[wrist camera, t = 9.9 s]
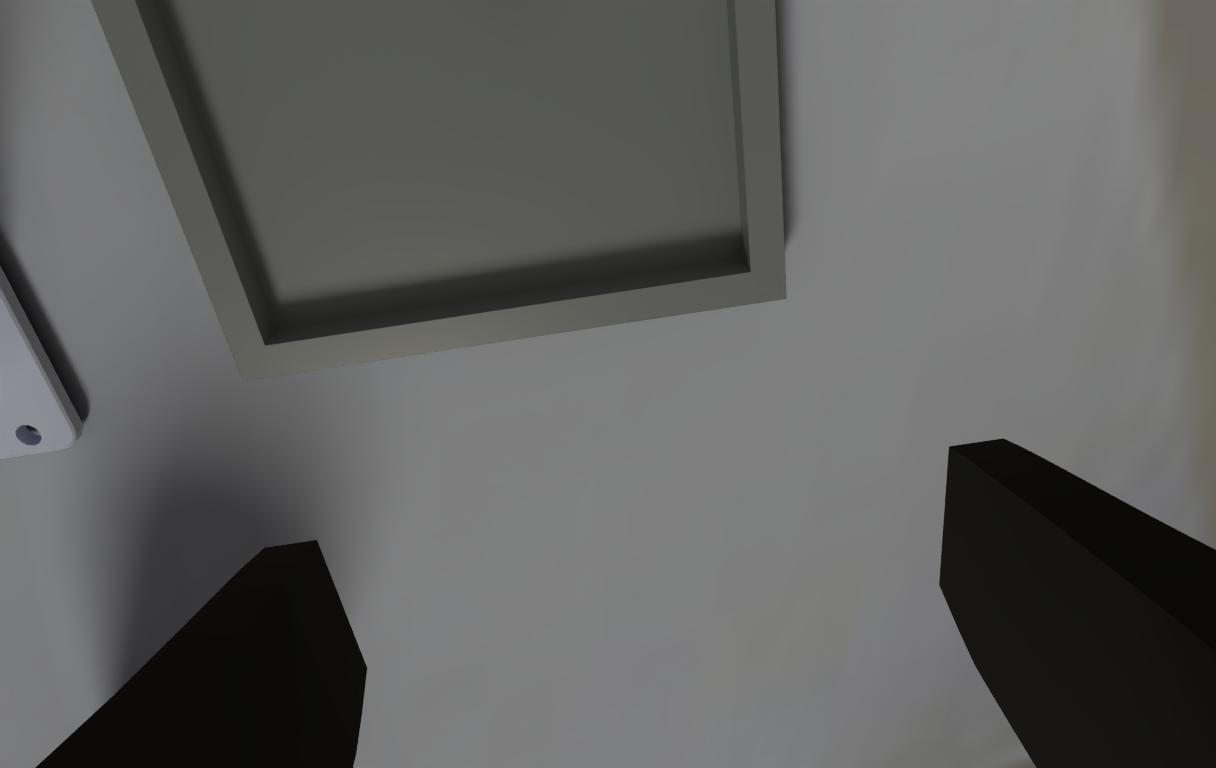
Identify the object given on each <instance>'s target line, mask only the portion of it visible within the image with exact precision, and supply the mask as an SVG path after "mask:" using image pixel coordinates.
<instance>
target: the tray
mask: <svg viewBox="0 0 1216 768" xmlns="http://www.w3.org/2000/svg"><path fill="white" fill-rule="evenodd" d="M91 1H92V4H93V6H94V9H95V11H96V14H97V16H98V19H99V21H100V24H101V26H102V29H103V31H104V34H105V36H106V39H107V41H108V44H109V46H110V49H111V51H112V54H113V56H114V59H115V61H116V64H117V66H118V69H119V71H120V74H121V76H122V79H123V81H124V84H125V86H126V89H127V91H128V94H129V96H130V99H131V101H132V104H133V106H134V109H135V111H136V114H137V116H138V119H139V121H140V124H141V126H142V129H143V131H144V134H145V136H146V139H147V141H148V144H149V146H150V149H151V151H152V154H153V156H154V159H155V161H156V164H157V166H158V169H159V171H160V174H161V176H162V179H163V181H164V184H165V186H166V189H167V191H168V194H169V196H170V199H171V201H172V204H173V207H174V209H175V212H176V214H177V217H178V219H179V222H180V224H181V227H182V229H183V232H184V234H185V237H186V239H187V242H188V244H189V247H190V249H191V252H192V254H193V257H194V259H195V262H196V264H197V267H198V269H199V272H200V274H201V277H202V279H203V282H204V284H205V287H206V289H207V292H208V294H209V297H210V299H211V302H212V304H213V307H214V309H215V312H216V314H217V317H218V319H219V322H220V324H221V327H222V329H223V332H224V334H225V337H226V339H227V342H228V344H229V347H230V349H231V352H232V354H233V357H234V359H235V362H236V364H237V367H238V369H239V372H240V374H241V377H242V379H243V381H245V380H252V379H258V378H265V377H271V376H278V375H285V374H291V373H298V372H304V371H311V370H318V369H324V368H331V367H337V366H344V365H351V364H357V363H364V362H371V361H377V360H384V359H390V358H397V357H404V356H410V355H417V354H423V353H430V352H437V351H443V350H450V349H457V348H463V347H470V346H476V345H483V344H490V343H496V342H503V341H509V340H516V339H523V338H529V337H536V336H543V335H549V334H556V333H562V332H569V331H576V330H582V329H589V328H595V327H602V326H609V325H615V324H622V323H629V322H635V321H642V320H648V319H655V318H662V317H668V316H675V315H681V314H688V313H695V312H701V311H708V310H715V309H721V308H728V307H734V306H741V305H748V304H754V303H761V302H767V301H774V300H781V299H786V274H785V248H784V222H783V196H782V169H781V143H780V117H779V91H778V65H777V39H776V13H775V0H91Z"/></svg>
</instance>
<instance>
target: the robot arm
mask: <svg viewBox="0 0 1216 768" xmlns="http://www.w3.org/2000/svg"><path fill="white" fill-rule="evenodd" d="M26 425H30V426H32V427H34V428H36V429H37V430H38V431H39V432H40V434H41V436H37V435H35V434H33V433H31V432H30V431H29V430H28V429H27V427H26ZM82 430H83V426H82V422H81V420H80V418H79V416H78V414H77V412H76V410H75V408H74V406H73V404H72V402H71V400H70V399H69V397H68V395H67V393H66V391H65V389H64V387H63V385H62V383H61V381H60V379H59V377H58V375H57V374H56V372H55V370H54V368H53V366H52V364H51V362H50V360H49V358H48V356H47V354H46V352H45V351H44V349H43V347H42V345H41V343H40V341H39V339H38V337H37V335H36V333H35V331H34V329H33V327H32V326H31V324H30V322H29V320H28V318H27V316H26V314H25V312H24V310H23V308H22V306H21V304H20V303H19V301H18V299H17V297H16V295H15V293H14V291H13V289H12V287H11V285H10V283H9V281H8V279H7V278H6V276H5V274H4V272H3V270H2V268H1V266H0V459H3V458H10V457H16V456H23V455H30V454H36V453H43V452H50V451H56V450H62V449H65V448H68V447H70V446H71V445H72V444H73V443H74V442H75V441H76V440H77V439H78V438H79V437H80V436H81V435H82ZM939 585H940V588H941V590H942V592H943V595H944V597H945V599H946V602H947V604H948V606H949V609H950V611H951V613H952V616H953V618H954V620H955V623H956V625H957V627H958V629H959V632H960V634H961V636H962V638H963V640H964V642H965V645H966V647H967V649H968V651H969V653H970V655H971V658H972V660H973V662H974V664H975V666H976V668H977V669H978V671H979V673H980V675H981V676H982V678H983V680H984V681H985V683H986V685H987V687H988V688H989V690H990V692H991V693H992V695H993V697H994V698H995V700H996V702H997V703H998V705H999V707H1000V708H1001V710H1002V712H1003V713H1004V715H1005V717H1006V718H1007V720H1008V722H1009V723H1010V725H1011V727H1012V728H1013V730H1014V732H1015V733H1016V735H1017V737H1018V738H1019V740H1020V741H1021V743H1022V745H1023V746H1024V748H1025V750H1026V751H1027V753H1028V755H1029V756H1030V758H1031V759H1032V761H1033V763H1034V764H1035V766H1036V768H1216V550H1215V549H1213V548H1211V547H1209V546H1207V545H1205V544H1203V543H1201V542H1199V541H1197V540H1195V539H1193V538H1191V537H1190V536H1188V535H1186V534H1184V533H1182V532H1180V531H1178V530H1176V529H1174V528H1172V527H1170V526H1168V525H1167V524H1165V523H1163V522H1161V521H1159V520H1157V519H1155V518H1153V517H1151V516H1149V515H1148V514H1146V513H1144V512H1142V511H1140V510H1138V509H1136V508H1134V507H1133V506H1131V505H1129V504H1127V503H1125V502H1123V501H1121V500H1120V499H1118V498H1116V497H1114V496H1112V495H1110V494H1108V493H1107V492H1105V491H1103V490H1101V489H1099V488H1097V487H1096V486H1094V485H1092V484H1090V483H1088V482H1086V481H1085V480H1083V479H1081V478H1079V477H1077V476H1075V475H1074V474H1072V473H1070V472H1068V471H1066V470H1064V469H1062V468H1061V467H1059V466H1057V465H1055V464H1053V463H1051V462H1049V461H1047V460H1046V459H1044V458H1042V457H1040V456H1038V455H1036V454H1034V453H1032V452H1030V451H1028V450H1026V449H1024V448H1022V447H1020V446H1018V445H1016V444H1014V443H1012V442H1010V441H1008V440H1006V439H997V440H991V441H984V442H977V443H970V444H963V445H957V446H950V447H949V455H948V469H947V484H946V498H945V512H944V526H943V540H942V555H941V569H940V583H939ZM366 673H367V667H366V664H365V661H364V659H363V656H362V654H361V651H360V649H359V646H358V644H357V641H356V639H355V636H354V633H353V631H352V628H351V626H350V623H349V621H348V618H347V616H346V613H345V611H344V608H343V605H342V603H341V600H340V598H339V595H338V593H337V590H336V588H335V585H334V582H333V580H332V577H331V575H330V572H329V570H328V567H327V565H326V562H325V560H324V557H323V554H322V552H321V549H320V547H319V544H318V542H317V540H314V541H308V542H301V543H294V544H287V545H281V546H274V547H267V548H264V549H263V550H261V551H260V552H259V553H258V554H257V555H256V556H255V557H254V558H252V559H251V560H250V561H249V562H248V563H247V564H246V565H245V566H244V567H243V568H242V569H241V570H240V571H239V572H238V573H237V574H236V575H235V576H233V577H232V578H231V579H230V580H229V581H228V582H227V583H226V584H225V585H224V586H223V587H222V588H221V589H220V590H219V591H218V592H217V593H216V594H215V595H214V596H213V597H212V598H211V599H210V600H209V601H208V602H207V603H206V604H205V605H204V606H203V607H202V608H201V609H200V610H199V611H198V612H197V613H196V614H195V615H194V616H193V617H192V618H191V619H190V620H189V621H188V622H187V623H186V624H185V625H184V626H183V627H182V628H181V629H180V630H179V631H178V632H177V633H176V634H175V635H174V636H173V637H172V638H171V639H170V640H169V641H168V642H167V643H166V644H165V645H164V646H163V647H162V648H161V649H160V650H159V651H158V652H157V653H156V654H155V655H154V656H153V657H152V658H151V659H150V660H149V661H148V662H147V663H146V664H145V665H144V666H143V667H142V668H141V669H140V670H139V671H138V672H137V673H136V674H135V675H134V676H133V677H132V678H131V679H130V680H129V681H128V682H127V683H126V684H125V685H124V686H123V687H122V688H121V689H120V690H119V691H118V692H117V693H116V694H115V695H114V696H113V697H111V698H110V699H109V700H108V701H107V702H106V703H105V704H104V705H103V706H102V707H101V708H100V709H98V710H97V711H96V712H95V713H94V714H93V715H92V716H91V717H90V718H89V719H88V720H87V721H85V722H84V723H83V724H82V725H81V726H80V727H79V728H78V729H77V730H76V731H75V732H74V733H73V734H71V735H70V736H69V737H68V738H67V739H66V740H65V741H64V742H63V743H62V744H61V745H60V746H58V747H57V748H56V749H55V750H54V751H53V752H52V753H51V754H50V755H49V756H48V757H47V758H45V759H44V760H43V761H42V762H41V763H40V764H39V765H38V766H37V767H36V768H353V764H354V760H355V756H356V751H357V744H358V737H359V730H360V723H361V716H362V708H363V699H364V690H365V682H366Z"/></svg>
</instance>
